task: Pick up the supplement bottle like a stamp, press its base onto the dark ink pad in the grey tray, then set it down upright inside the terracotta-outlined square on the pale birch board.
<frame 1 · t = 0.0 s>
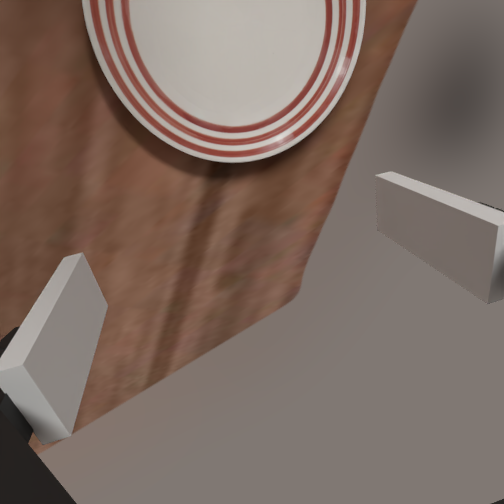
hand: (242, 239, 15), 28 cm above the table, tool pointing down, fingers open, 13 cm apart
dinner plate: (231, 24, 36), on the table
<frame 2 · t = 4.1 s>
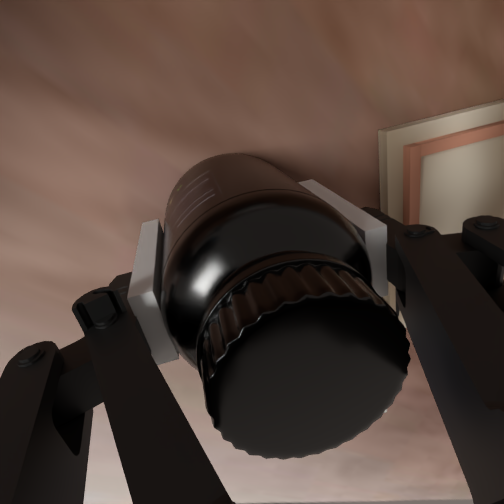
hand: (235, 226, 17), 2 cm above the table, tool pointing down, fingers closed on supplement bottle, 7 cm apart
supplement bottle: (230, 215, 18), on the table, touching gripper
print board: (477, 213, 22), on the table
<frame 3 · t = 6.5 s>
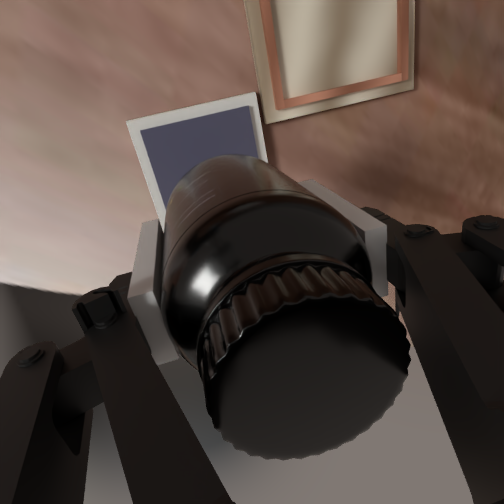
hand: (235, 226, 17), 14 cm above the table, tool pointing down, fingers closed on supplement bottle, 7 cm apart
ink pad: (207, 168, 29), on the table
supplement bottle: (230, 215, 18), point 12 cm above the table, touching gripper
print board: (330, 15, 26), on the table
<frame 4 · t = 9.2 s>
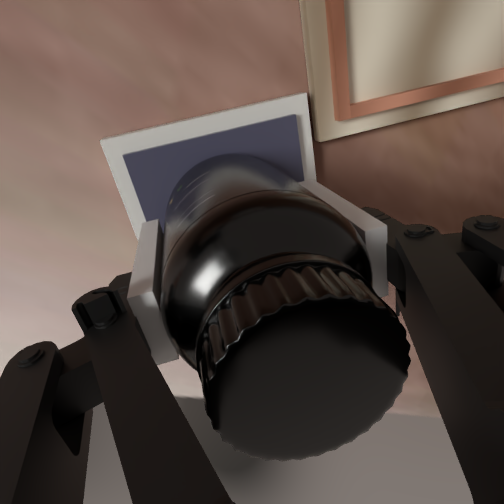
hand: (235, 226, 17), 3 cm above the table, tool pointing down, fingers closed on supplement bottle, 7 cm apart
ink pad: (227, 208, 19), on the table
supplement bottle: (230, 215, 18), point 1 cm above the table, touching gripper, ink pad
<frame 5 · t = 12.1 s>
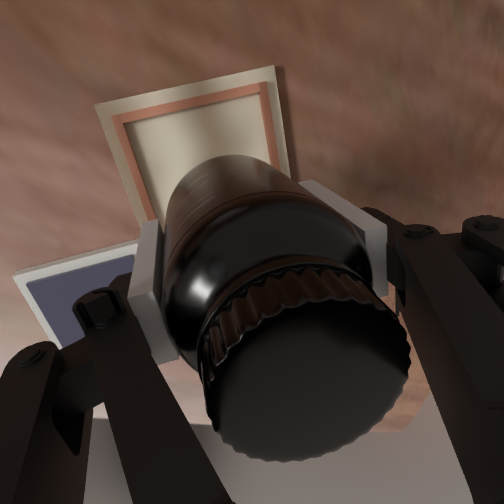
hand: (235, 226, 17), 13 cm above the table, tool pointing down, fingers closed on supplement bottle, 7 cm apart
ink pad: (102, 302, 31), on the table
supplement bottle: (230, 216, 18), point 11 cm above the table, touching gripper
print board: (208, 171, 28), on the table
when the fingers open (3 cm above the table, at t = 14.5 s): supplement bottle stays where it is, resting on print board.
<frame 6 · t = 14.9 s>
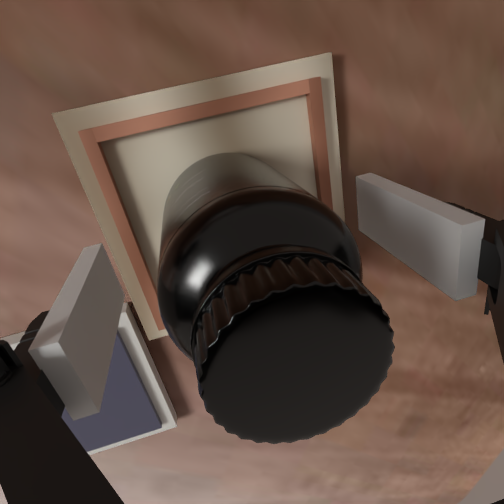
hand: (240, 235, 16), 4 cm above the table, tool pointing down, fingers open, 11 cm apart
ink pad: (77, 387, 22), on the table
supplement bottle: (227, 213, 19), point 1 cm above the table, touching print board
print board: (227, 209, 19), on the table
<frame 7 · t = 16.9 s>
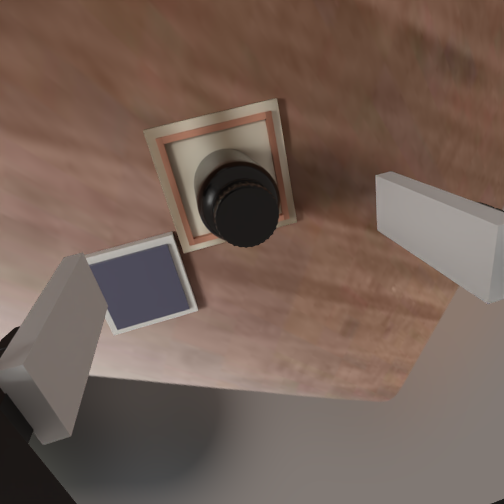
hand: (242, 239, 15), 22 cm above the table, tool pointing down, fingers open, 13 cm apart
ink pad: (142, 283, 39), on the table
supplement bottle: (226, 180, 36), point 1 cm above the table, touching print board
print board: (226, 179, 36), on the table
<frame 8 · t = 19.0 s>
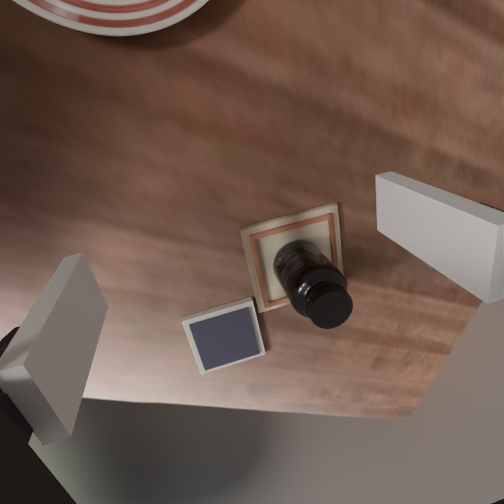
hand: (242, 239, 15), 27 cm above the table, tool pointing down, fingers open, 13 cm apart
ink pad: (224, 334, 50), on the table
supplement bottle: (295, 260, 47), point 1 cm above the table, touching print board
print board: (294, 258, 48), on the table
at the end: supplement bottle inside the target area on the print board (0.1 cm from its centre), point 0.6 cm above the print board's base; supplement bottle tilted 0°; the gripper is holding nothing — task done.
